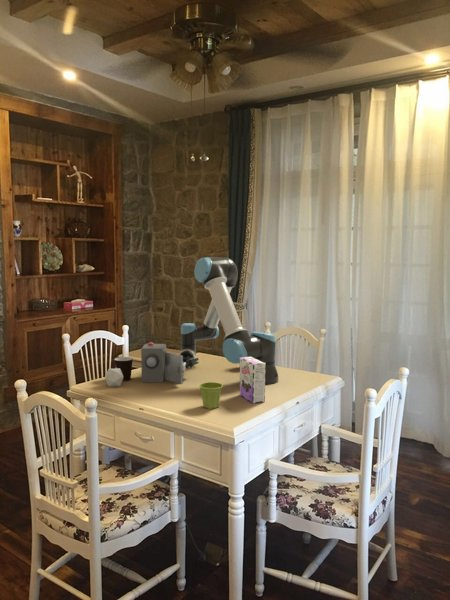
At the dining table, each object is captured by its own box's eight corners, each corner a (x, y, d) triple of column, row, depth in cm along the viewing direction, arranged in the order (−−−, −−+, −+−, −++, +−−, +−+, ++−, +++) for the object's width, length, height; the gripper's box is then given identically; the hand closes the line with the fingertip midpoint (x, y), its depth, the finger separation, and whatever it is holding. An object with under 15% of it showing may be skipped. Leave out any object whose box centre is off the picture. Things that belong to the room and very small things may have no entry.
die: (125, 384, 237) (113, 367, 238) (129, 379, 230) (118, 361, 231) (110, 393, 232) (98, 375, 234) (114, 388, 225) (102, 370, 227)
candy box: (238, 394, 218) (239, 357, 217) (251, 393, 221) (251, 356, 219) (252, 403, 206) (252, 363, 204) (265, 402, 208) (266, 362, 206)
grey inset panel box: (162, 383, 236) (162, 347, 235) (140, 383, 237) (140, 347, 235) (166, 376, 251) (166, 341, 249) (145, 375, 251) (145, 341, 249)
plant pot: (223, 410, 197) (223, 388, 197) (199, 410, 197) (199, 388, 196) (222, 402, 207) (222, 381, 206) (198, 403, 206) (198, 382, 205)
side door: (161, 379, 239) (161, 351, 237) (165, 378, 240) (165, 351, 239) (179, 384, 229) (179, 356, 228) (183, 383, 230) (183, 355, 229)
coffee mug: (130, 381, 239) (130, 360, 238) (112, 381, 239) (112, 360, 238) (135, 375, 251) (135, 355, 250) (118, 375, 251) (118, 355, 250)
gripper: (200, 364, 256) (197, 376, 232) (173, 364, 256) (167, 376, 233) (200, 350, 255) (197, 360, 232) (173, 350, 255) (167, 360, 232)
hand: (182, 368), depth 232 cm, fingers closed
